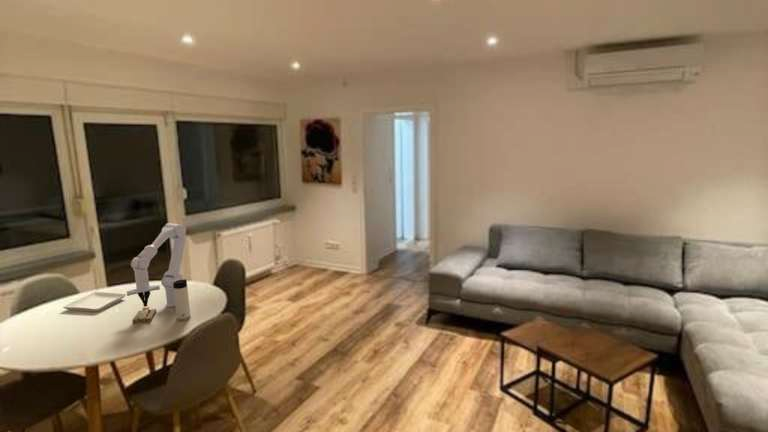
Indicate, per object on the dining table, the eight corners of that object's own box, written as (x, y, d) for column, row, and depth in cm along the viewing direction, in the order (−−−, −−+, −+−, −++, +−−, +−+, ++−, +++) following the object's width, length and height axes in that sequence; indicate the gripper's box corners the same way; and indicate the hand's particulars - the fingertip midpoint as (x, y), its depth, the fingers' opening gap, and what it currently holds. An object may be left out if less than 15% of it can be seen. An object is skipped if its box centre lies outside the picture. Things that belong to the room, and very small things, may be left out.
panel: (156, 312, 223) (155, 309, 223) (150, 322, 212) (150, 318, 211) (139, 314, 221) (138, 310, 220) (132, 324, 209) (132, 320, 209)
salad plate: (98, 314, 223) (97, 308, 222) (62, 312, 226) (61, 306, 225) (128, 299, 243) (127, 293, 242) (95, 297, 246) (94, 291, 246)
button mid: (148, 314, 218) (147, 308, 217) (147, 316, 215) (146, 311, 214) (142, 315, 217) (141, 309, 216) (140, 317, 214) (139, 312, 214)
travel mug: (185, 321, 212) (181, 282, 208) (174, 320, 213) (169, 282, 210) (193, 316, 218) (189, 278, 214) (182, 315, 219) (178, 277, 216)
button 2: (150, 311, 221) (149, 306, 221) (149, 313, 218) (148, 308, 218) (143, 312, 220) (143, 306, 220) (142, 314, 218) (141, 309, 217)
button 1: (147, 319, 214) (146, 313, 214) (145, 321, 211) (144, 315, 211) (140, 319, 213) (139, 314, 213) (138, 322, 211) (138, 316, 210)
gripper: (157, 275, 223) (160, 300, 226) (124, 281, 215) (128, 306, 217) (159, 279, 217) (162, 304, 220) (126, 285, 209) (129, 311, 212)
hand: (145, 305), depth 218 cm, fingers closed
